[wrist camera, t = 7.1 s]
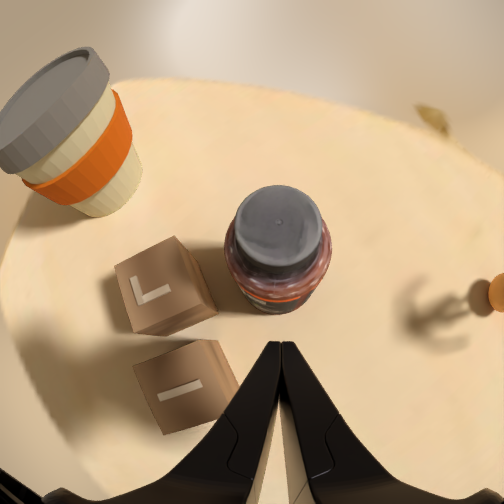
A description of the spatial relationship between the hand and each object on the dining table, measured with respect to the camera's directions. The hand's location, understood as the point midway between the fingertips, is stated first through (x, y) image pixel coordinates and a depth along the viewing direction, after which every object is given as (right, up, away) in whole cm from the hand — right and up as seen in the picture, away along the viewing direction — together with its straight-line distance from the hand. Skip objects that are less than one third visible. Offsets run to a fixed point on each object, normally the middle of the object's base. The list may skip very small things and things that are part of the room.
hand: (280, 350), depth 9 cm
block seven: (-7, -1, +14) cm, 16 cm away
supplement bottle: (+1, +1, +14) cm, 14 cm away
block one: (-5, -7, +12) cm, 15 cm away
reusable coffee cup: (-17, +11, +19) cm, 28 cm away
